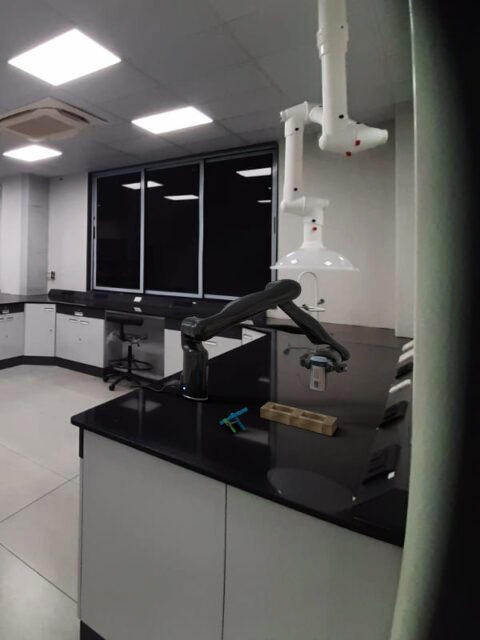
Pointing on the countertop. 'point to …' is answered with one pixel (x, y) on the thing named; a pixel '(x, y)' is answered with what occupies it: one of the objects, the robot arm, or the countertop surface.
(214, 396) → the countertop surface
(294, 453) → the countertop surface
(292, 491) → the countertop surface
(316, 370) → the beer can
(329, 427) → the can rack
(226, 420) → the blue-green rod frame
